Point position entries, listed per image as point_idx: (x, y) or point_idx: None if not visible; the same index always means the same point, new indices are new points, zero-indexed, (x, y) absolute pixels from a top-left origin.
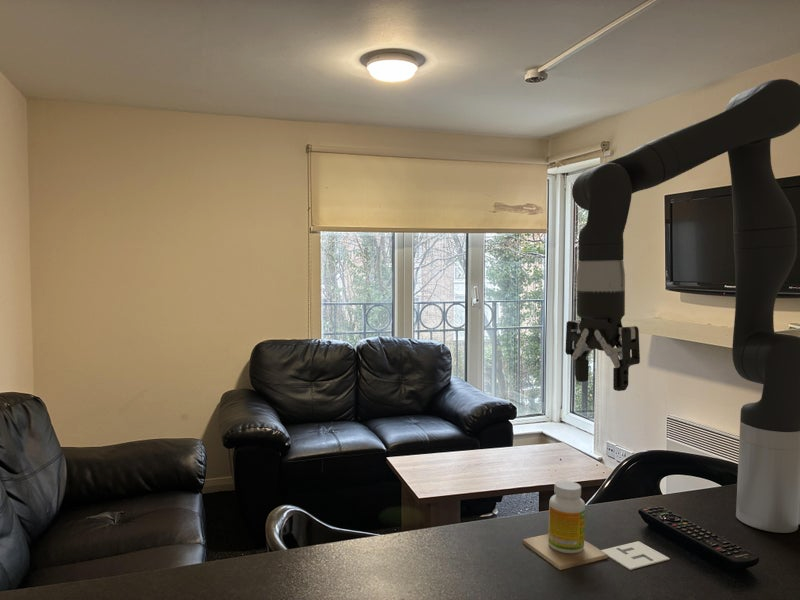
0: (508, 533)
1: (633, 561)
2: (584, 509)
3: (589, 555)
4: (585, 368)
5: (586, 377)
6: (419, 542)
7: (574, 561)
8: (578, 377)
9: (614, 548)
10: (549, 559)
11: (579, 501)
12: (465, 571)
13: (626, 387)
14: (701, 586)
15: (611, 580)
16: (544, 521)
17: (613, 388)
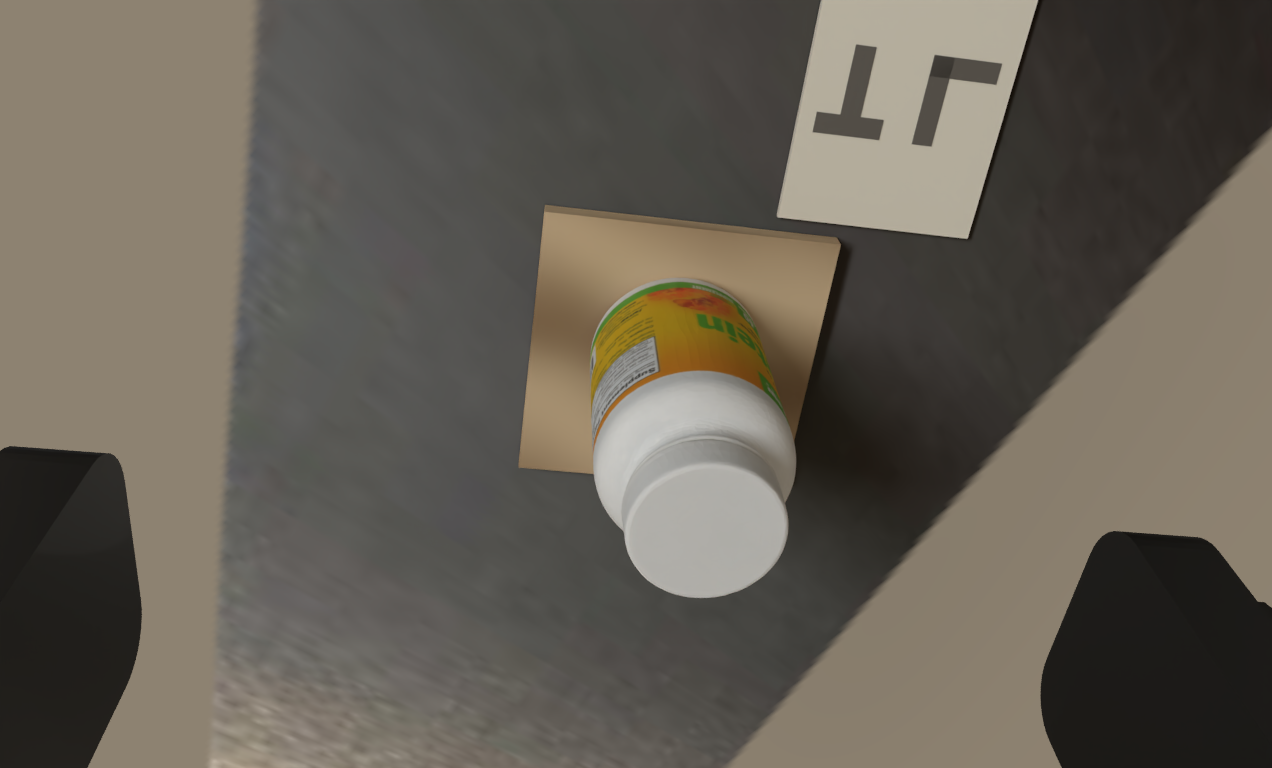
0: (406, 448)
1: (941, 166)
2: (788, 425)
3: (797, 324)
4: (2, 726)
5: (95, 533)
6: (320, 763)
7: (793, 418)
8: (107, 719)
9: (807, 136)
10: None
11: (771, 464)
12: (591, 738)
13: (1209, 550)
14: (1253, 73)
15: (957, 368)
16: (367, 202)
17: (1046, 727)
